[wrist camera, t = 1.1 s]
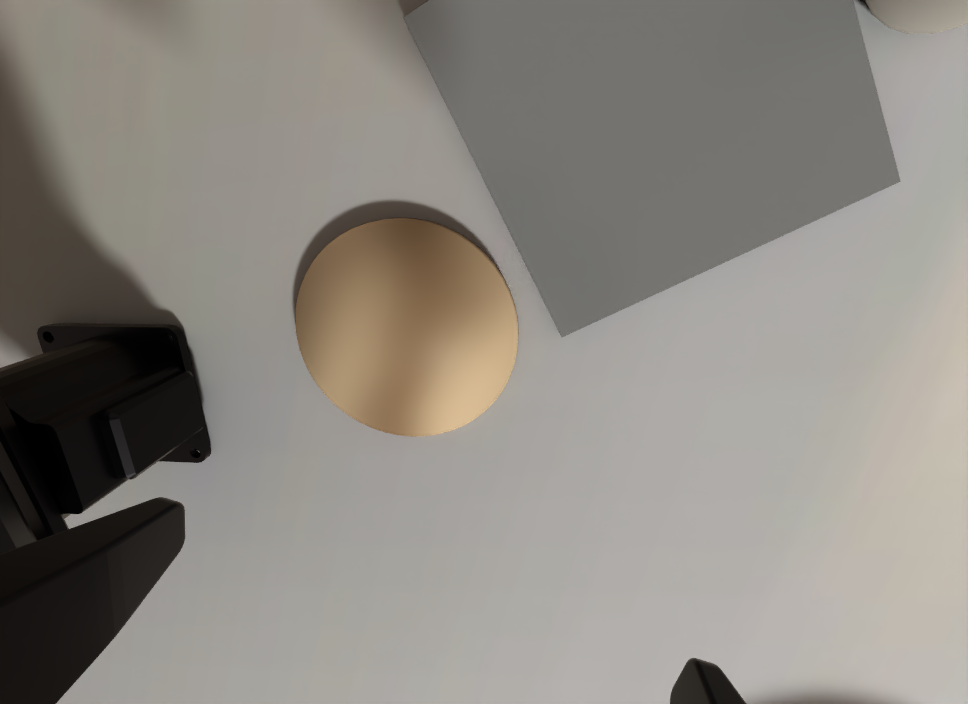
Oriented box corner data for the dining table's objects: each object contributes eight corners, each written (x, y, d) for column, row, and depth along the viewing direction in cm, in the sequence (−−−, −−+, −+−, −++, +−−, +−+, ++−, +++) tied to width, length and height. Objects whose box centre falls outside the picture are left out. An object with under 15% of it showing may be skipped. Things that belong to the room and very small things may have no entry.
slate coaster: (560, 332, 19) (561, 337, 18) (407, 23, 16) (403, 17, 15) (886, 181, 16) (900, 181, 15) (776, -230, 13) (787, -250, 12)
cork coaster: (317, 426, 21) (311, 432, 20) (287, 219, 18) (279, 220, 18) (517, 432, 20) (517, 440, 20) (519, 216, 17) (519, 217, 17)
